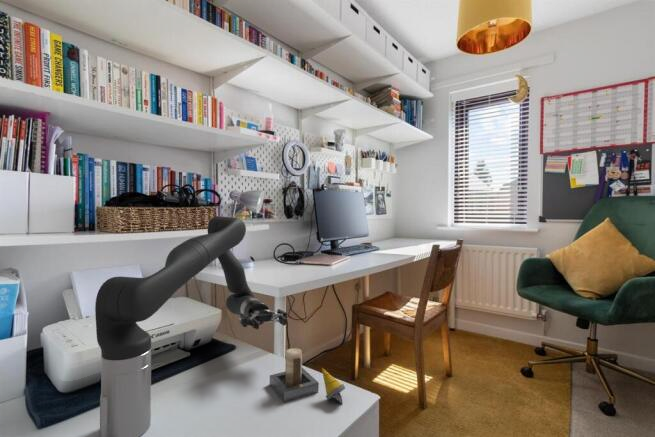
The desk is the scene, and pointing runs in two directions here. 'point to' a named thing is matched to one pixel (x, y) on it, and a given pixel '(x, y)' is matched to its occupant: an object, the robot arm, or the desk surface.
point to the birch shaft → (293, 367)
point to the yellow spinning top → (332, 387)
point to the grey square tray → (295, 391)
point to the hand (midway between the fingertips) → (271, 324)
